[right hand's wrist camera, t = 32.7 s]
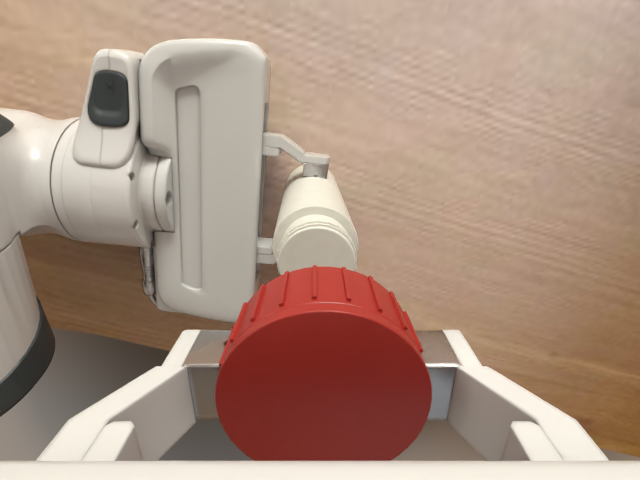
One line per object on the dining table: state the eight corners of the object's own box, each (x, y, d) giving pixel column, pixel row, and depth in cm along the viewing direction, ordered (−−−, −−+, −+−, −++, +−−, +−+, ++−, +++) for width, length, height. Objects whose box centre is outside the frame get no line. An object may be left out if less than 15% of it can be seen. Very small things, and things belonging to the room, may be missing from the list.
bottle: (346, 194, 31) (383, 272, 17) (306, 223, 32) (307, 322, 18) (316, 152, 30) (327, 198, 15) (275, 184, 31) (248, 256, 16)
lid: (201, 363, 11) (172, 428, 9) (295, 226, 9) (288, 262, 7) (342, 434, 12) (348, 508, 10) (447, 322, 10) (482, 379, 8)
